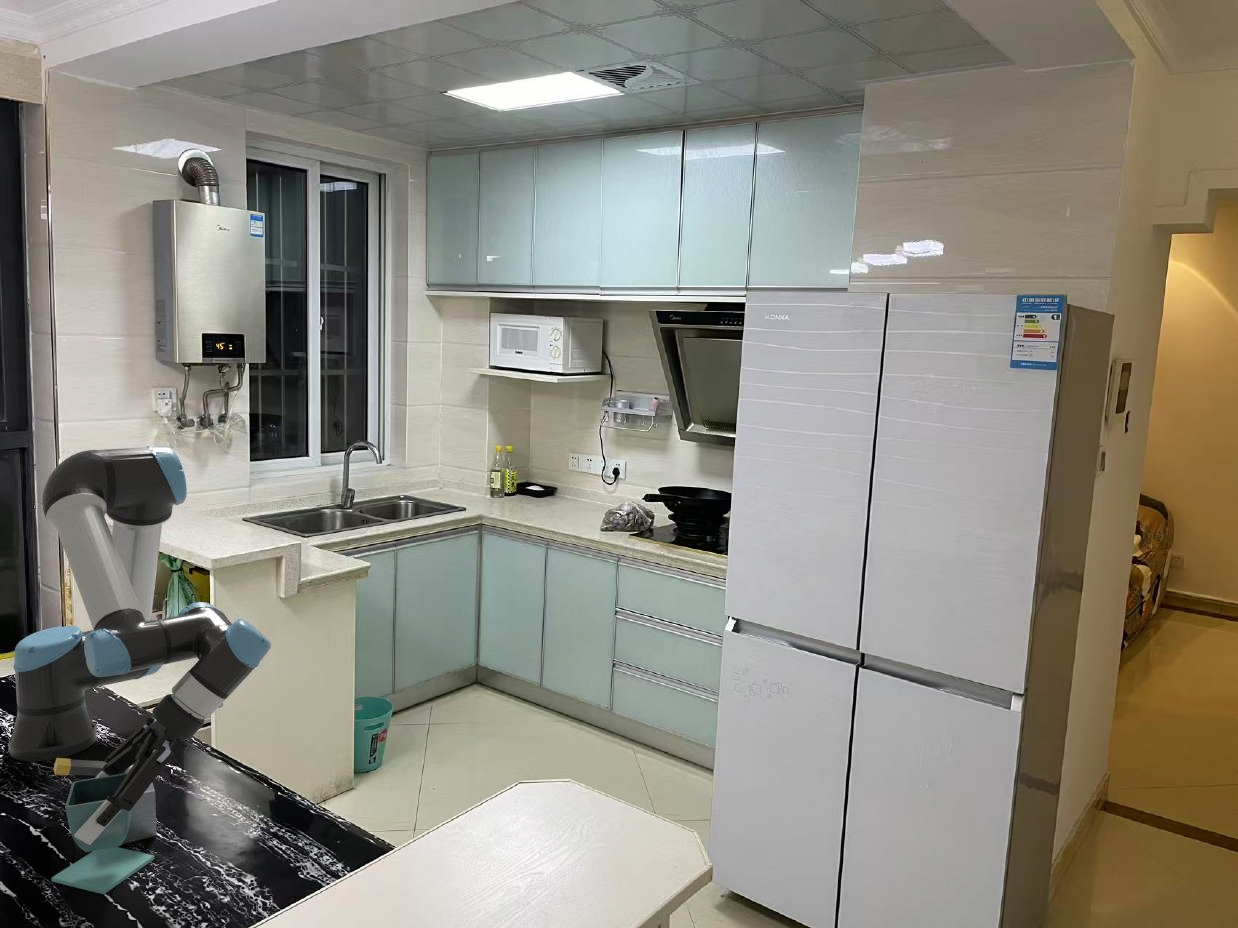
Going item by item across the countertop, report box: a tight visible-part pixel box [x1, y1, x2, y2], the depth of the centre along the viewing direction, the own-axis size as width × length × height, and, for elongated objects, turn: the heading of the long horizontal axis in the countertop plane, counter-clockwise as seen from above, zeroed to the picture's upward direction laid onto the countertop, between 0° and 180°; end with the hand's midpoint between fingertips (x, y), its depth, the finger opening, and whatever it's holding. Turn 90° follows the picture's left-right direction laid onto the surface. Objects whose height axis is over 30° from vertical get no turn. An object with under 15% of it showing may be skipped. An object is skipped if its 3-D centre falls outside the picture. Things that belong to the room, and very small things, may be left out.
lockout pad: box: [50, 846, 155, 895], centre depth 145 cm, size 10×10×1 cm
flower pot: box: [64, 773, 132, 853], centre depth 144 cm, size 9×9×9 cm
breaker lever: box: [53, 757, 134, 777], centre depth 156 cm, size 2×4×12 cm
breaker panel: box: [122, 782, 158, 845], centre depth 158 cm, size 6×11×9 cm, turn 34°
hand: (79, 824), depth 142 cm, fingers closed on flower pot, 9 cm apart
